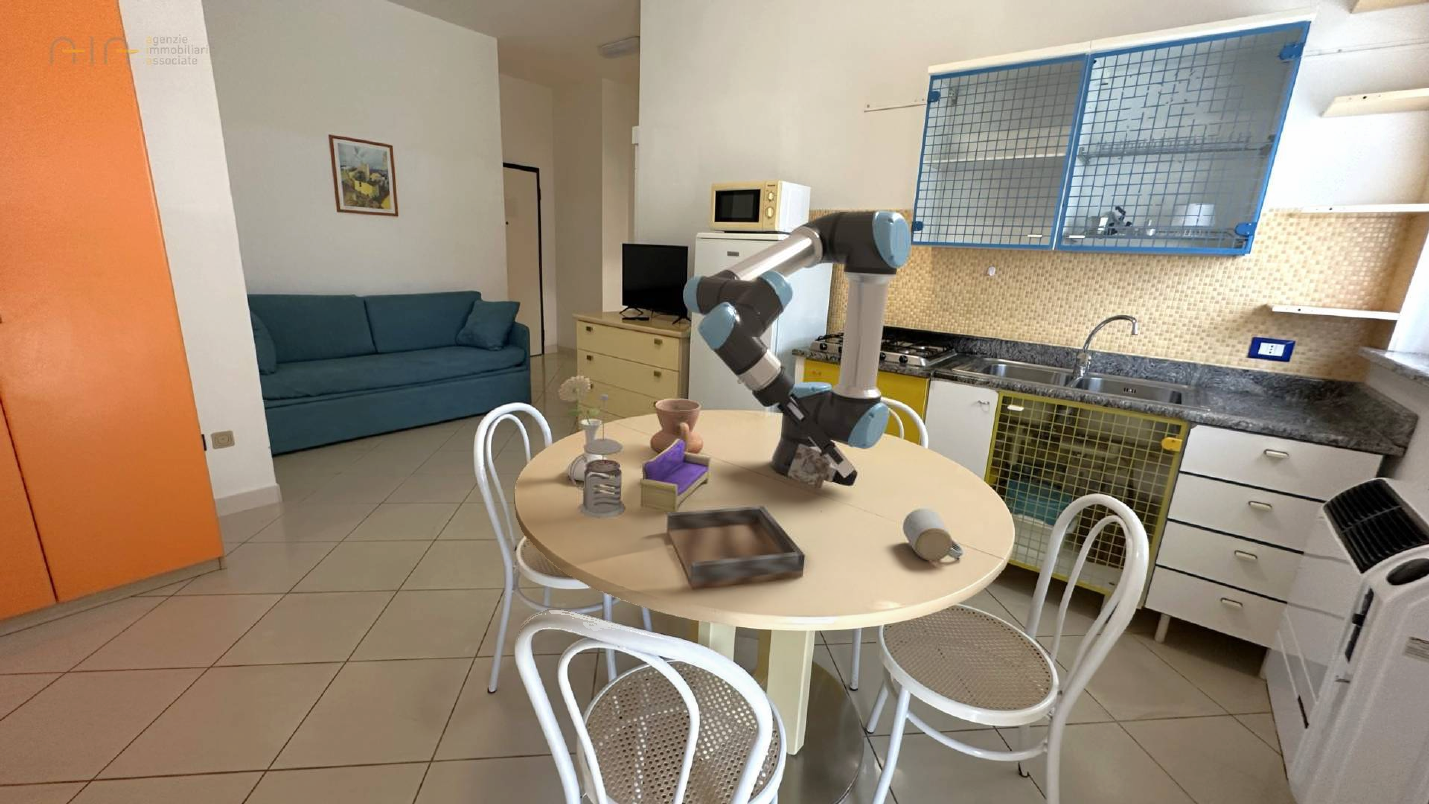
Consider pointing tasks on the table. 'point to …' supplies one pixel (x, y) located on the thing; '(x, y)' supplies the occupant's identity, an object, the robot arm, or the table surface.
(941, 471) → the table surface
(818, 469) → the caster wheel
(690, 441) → the ceramic jug
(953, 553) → the ceramic mug
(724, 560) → the square tray
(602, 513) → the french press
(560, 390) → the flower in vase
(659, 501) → the toy sofa
